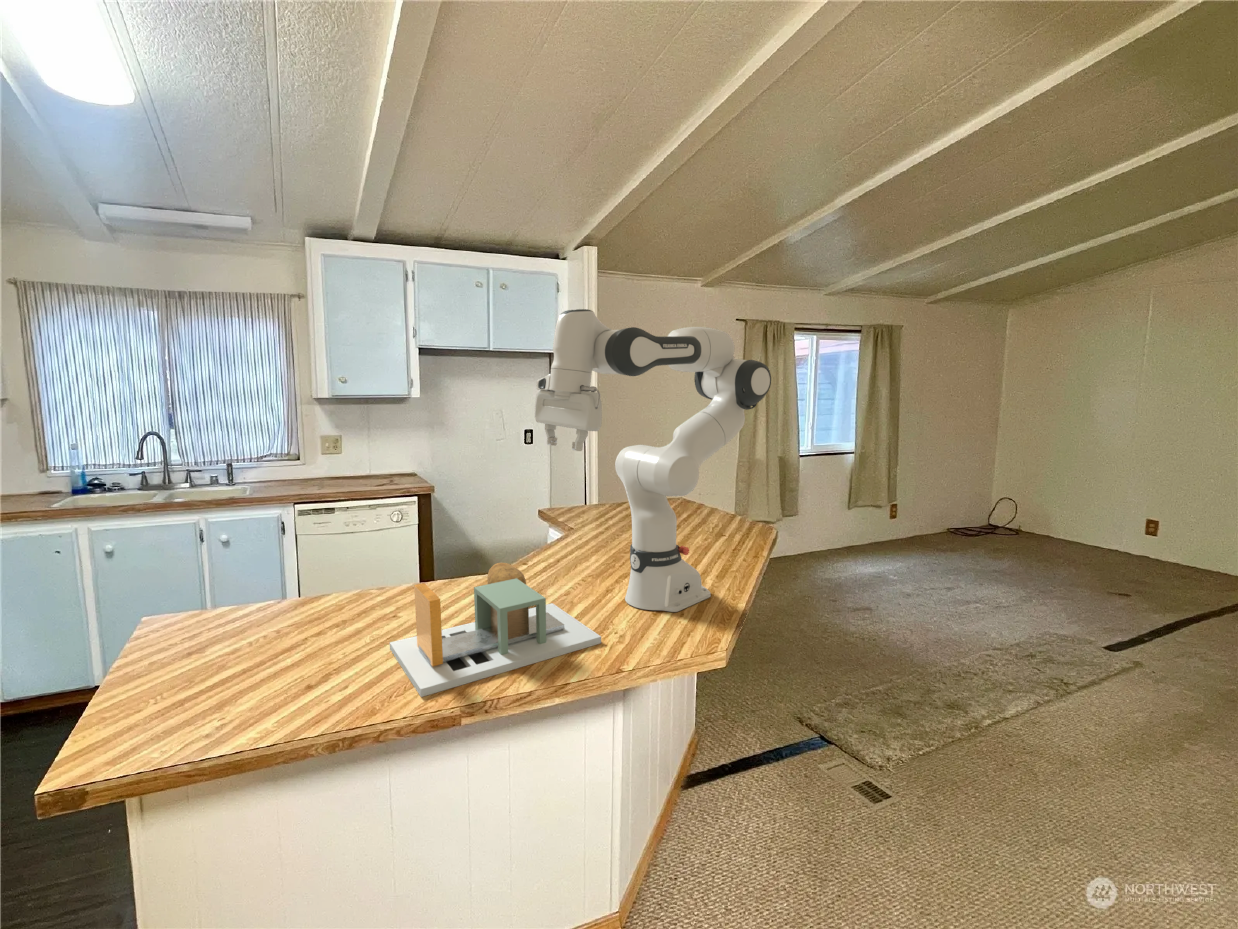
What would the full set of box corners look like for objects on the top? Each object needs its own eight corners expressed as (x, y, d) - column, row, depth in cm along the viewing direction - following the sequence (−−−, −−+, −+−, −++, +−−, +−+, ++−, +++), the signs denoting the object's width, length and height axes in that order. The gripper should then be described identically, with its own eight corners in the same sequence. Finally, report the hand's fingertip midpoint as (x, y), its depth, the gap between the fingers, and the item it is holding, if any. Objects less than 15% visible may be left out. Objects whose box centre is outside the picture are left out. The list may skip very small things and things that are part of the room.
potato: (497, 610, 143) (496, 579, 142) (480, 591, 155) (480, 562, 154) (535, 603, 148) (534, 572, 147) (516, 585, 160) (516, 557, 159)
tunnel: (517, 619, 135) (516, 578, 133) (546, 642, 123) (545, 598, 122) (475, 629, 129) (473, 587, 128) (501, 655, 118) (500, 608, 116)
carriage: (545, 615, 136) (544, 559, 134) (566, 630, 128) (566, 572, 126) (417, 647, 120) (414, 585, 118) (432, 667, 112) (429, 601, 110)
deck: (552, 609, 144) (552, 603, 144) (601, 643, 126) (601, 636, 126) (389, 649, 123) (389, 642, 123) (420, 697, 105) (420, 689, 105)
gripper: (612, 388, 123) (605, 454, 124) (555, 383, 138) (549, 442, 139) (588, 385, 119) (581, 453, 120) (532, 381, 134) (526, 441, 135)
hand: (563, 447), depth 130 cm, fingers open, 8 cm apart
